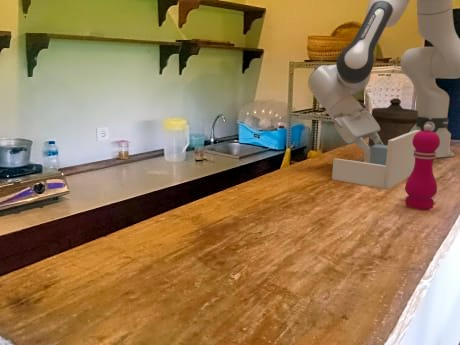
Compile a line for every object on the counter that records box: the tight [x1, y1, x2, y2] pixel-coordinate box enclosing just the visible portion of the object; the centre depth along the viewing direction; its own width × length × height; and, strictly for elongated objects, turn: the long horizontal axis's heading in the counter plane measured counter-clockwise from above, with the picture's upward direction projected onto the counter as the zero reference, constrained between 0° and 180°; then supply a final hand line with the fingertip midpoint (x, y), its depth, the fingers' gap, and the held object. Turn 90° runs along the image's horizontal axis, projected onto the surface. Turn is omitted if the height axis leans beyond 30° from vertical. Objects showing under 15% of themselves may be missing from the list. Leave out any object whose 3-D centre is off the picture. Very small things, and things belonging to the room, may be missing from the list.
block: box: [370, 144, 388, 165], centre depth 139 cm, size 5×5×9 cm
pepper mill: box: [404, 124, 440, 211], centre depth 114 cm, size 7×7×20 cm
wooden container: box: [368, 97, 418, 147], centre depth 161 cm, size 15×15×22 cm
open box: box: [331, 130, 420, 190], centre depth 140 cm, size 24×16×14 cm, turn 143°
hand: (375, 148), depth 140 cm, fingers open, 8 cm apart
